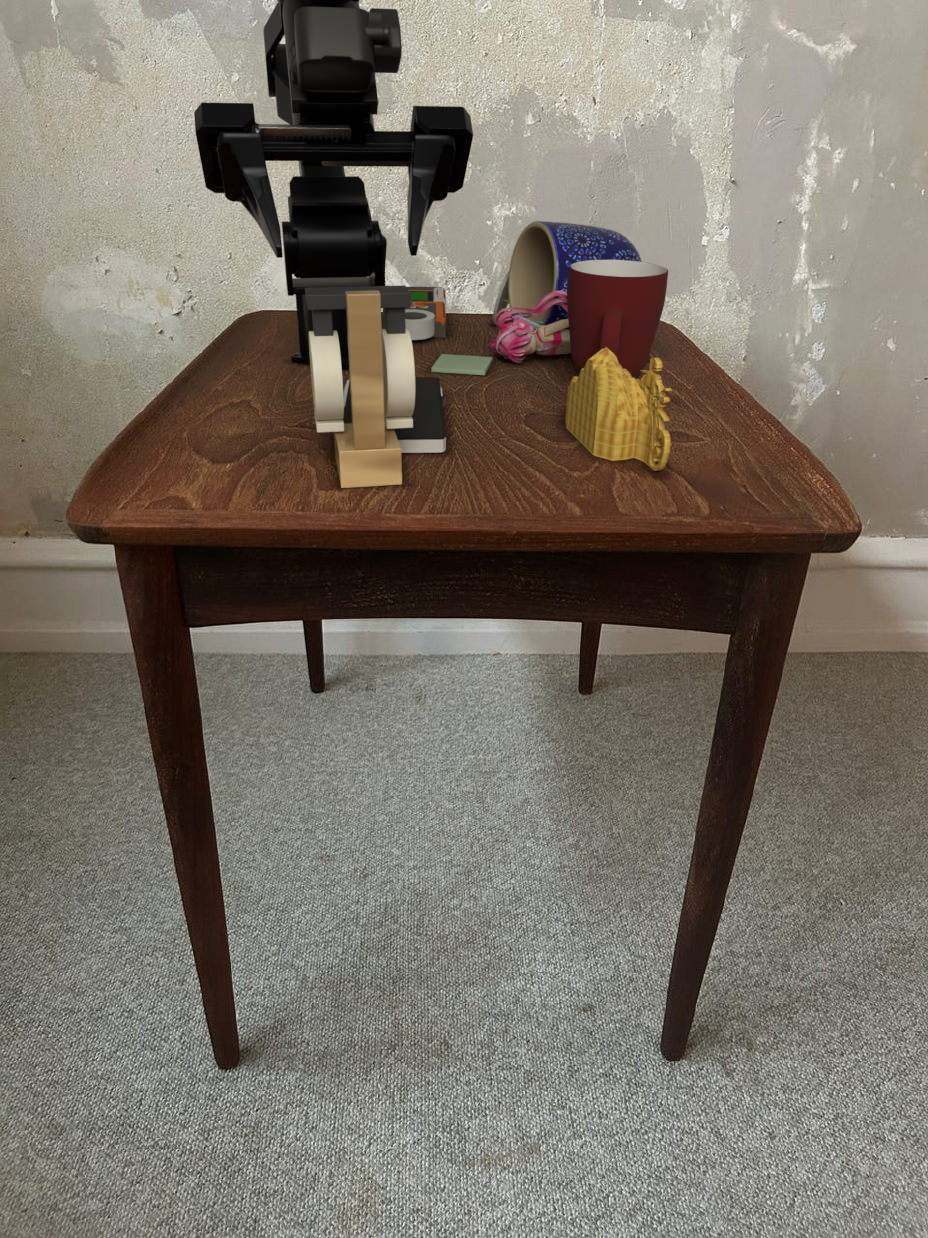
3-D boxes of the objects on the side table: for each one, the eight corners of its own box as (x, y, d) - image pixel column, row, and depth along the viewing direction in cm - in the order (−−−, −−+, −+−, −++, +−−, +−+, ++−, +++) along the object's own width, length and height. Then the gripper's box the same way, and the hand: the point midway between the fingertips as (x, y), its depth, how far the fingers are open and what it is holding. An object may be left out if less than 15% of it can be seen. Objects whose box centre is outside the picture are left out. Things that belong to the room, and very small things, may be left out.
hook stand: (334, 454, 62) (323, 275, 55) (390, 451, 62) (385, 274, 56) (341, 488, 57) (329, 294, 50) (402, 484, 57) (398, 293, 51)
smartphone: (333, 439, 61) (345, 376, 74) (334, 455, 62) (346, 390, 75) (448, 438, 62) (440, 376, 74) (448, 454, 62) (440, 390, 75)
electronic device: (380, 318, 87) (386, 281, 100) (381, 347, 89) (387, 308, 101) (447, 319, 88) (445, 282, 100) (447, 348, 89) (445, 309, 102)
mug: (663, 414, 71) (681, 284, 65) (563, 411, 71) (573, 281, 66) (646, 377, 80) (661, 260, 74) (558, 374, 80) (566, 258, 75)
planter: (636, 357, 91) (540, 354, 87) (589, 316, 98) (499, 313, 94) (668, 248, 84) (566, 240, 80) (615, 214, 92) (520, 205, 87)
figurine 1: (489, 334, 96) (558, 357, 95) (497, 288, 91) (569, 312, 90) (506, 306, 99) (572, 328, 98) (514, 261, 94) (584, 283, 93)
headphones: (313, 412, 61) (304, 282, 56) (404, 407, 62) (402, 280, 58) (318, 439, 56) (307, 300, 52) (416, 434, 57) (414, 297, 53)
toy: (630, 381, 88) (488, 382, 84) (616, 336, 90) (477, 335, 86) (661, 330, 81) (509, 328, 77) (645, 283, 83) (496, 278, 79)
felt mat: (431, 371, 80) (431, 367, 80) (441, 357, 84) (441, 353, 84) (484, 375, 79) (485, 371, 79) (492, 361, 84) (492, 356, 83)
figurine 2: (604, 419, 69) (614, 327, 65) (669, 476, 59) (685, 371, 56) (560, 422, 68) (567, 329, 65) (618, 480, 58) (630, 374, 55)
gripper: (174, -50, 54) (188, 164, 50) (470, -37, 57) (502, 165, 54) (200, 97, 64) (213, 282, 61) (448, 101, 68) (473, 278, 64)
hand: (347, 252), depth 60 cm, fingers open, 9 cm apart
